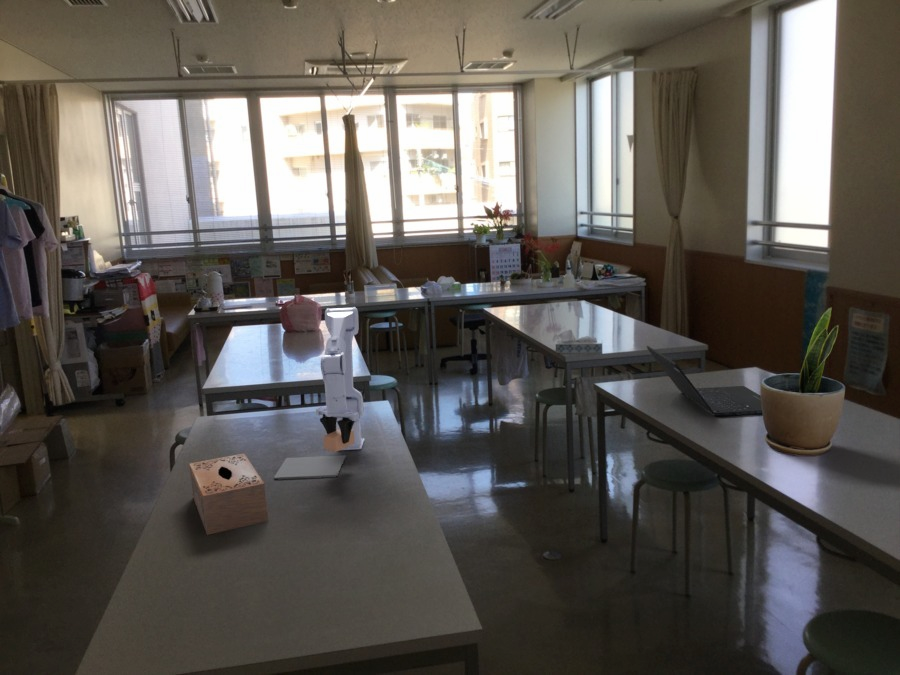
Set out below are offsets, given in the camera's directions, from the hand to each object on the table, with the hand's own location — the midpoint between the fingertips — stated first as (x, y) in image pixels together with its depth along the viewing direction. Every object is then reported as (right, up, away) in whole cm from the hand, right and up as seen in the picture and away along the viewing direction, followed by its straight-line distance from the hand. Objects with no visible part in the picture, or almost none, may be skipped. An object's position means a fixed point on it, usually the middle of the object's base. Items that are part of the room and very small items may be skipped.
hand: (339, 441), depth 211 cm
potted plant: (+133, -2, +1) cm, 133 cm away
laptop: (+125, +6, +48) cm, 134 cm away
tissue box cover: (-25, -15, -23) cm, 37 cm away
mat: (-9, -8, +4) cm, 13 cm away
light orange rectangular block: (0, -2, 0) cm, 2 cm away
